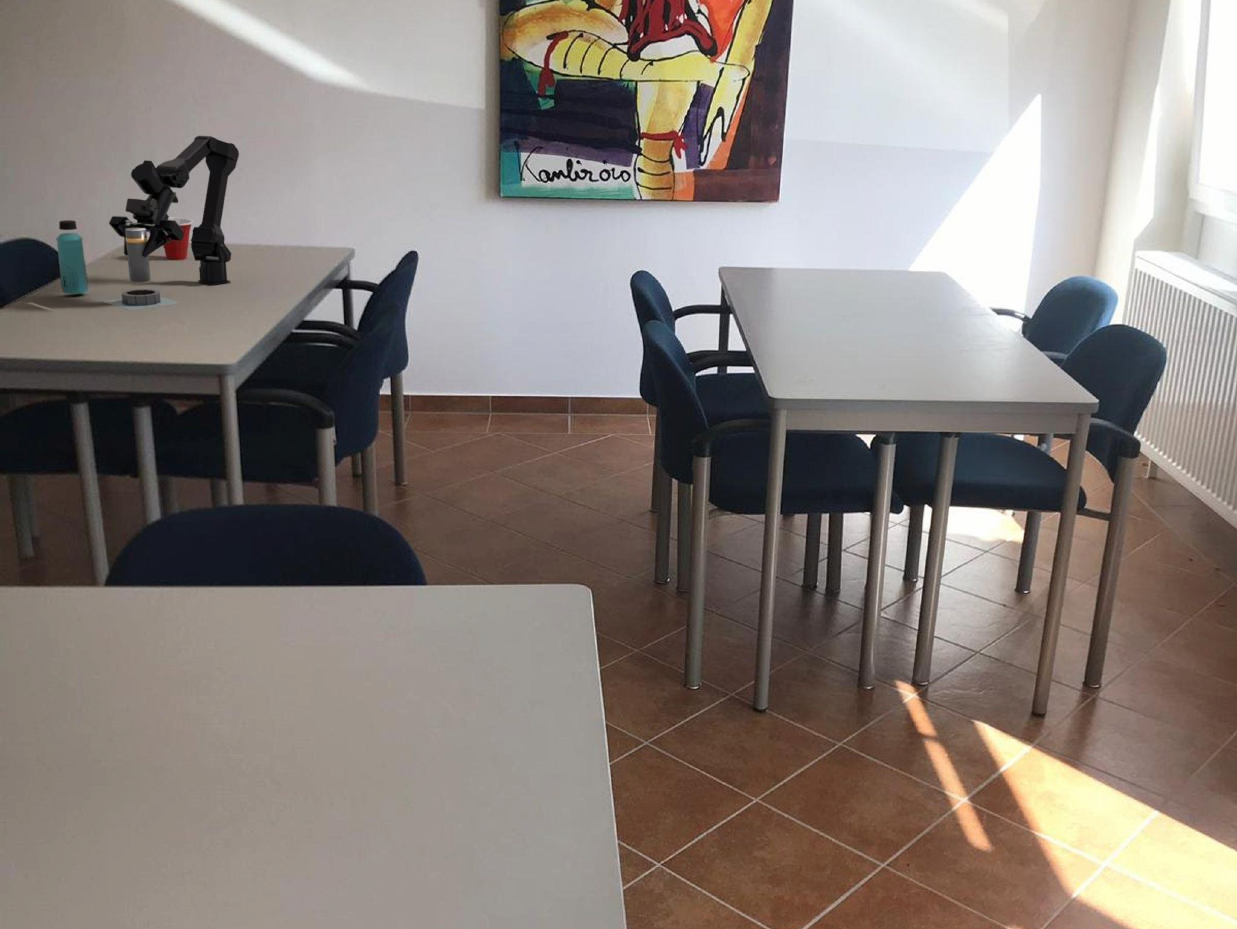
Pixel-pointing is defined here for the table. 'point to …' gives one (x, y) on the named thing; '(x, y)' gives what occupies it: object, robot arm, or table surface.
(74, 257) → the beverage bottle
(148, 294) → the barrel ring
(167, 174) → the robot arm
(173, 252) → the plastic cup
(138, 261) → the gray canister
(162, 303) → the blue-gray square plate
